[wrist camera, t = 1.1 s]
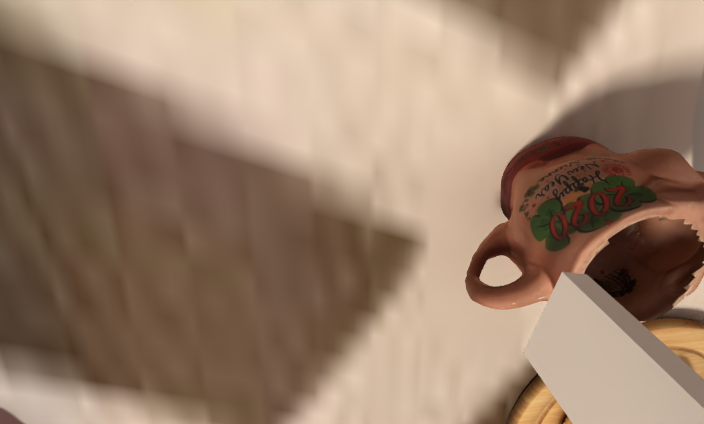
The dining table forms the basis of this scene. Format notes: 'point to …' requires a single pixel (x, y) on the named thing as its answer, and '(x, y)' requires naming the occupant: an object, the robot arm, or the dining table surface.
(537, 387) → the wooden plate with food
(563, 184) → the brown rounded vessel
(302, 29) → the dining table surface
